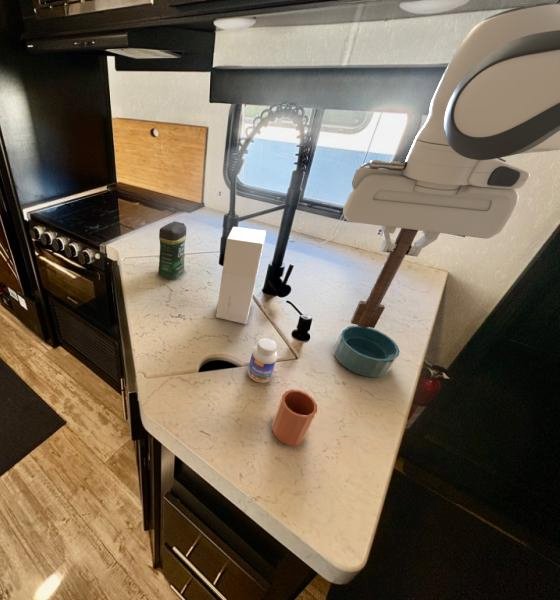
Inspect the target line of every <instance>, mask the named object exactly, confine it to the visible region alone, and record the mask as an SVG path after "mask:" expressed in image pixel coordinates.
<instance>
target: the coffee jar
mask: <svg viewBox="0 0 560 600" xmlns="http://www.w3.org/2000/svg"><path fill="white" fill-rule="evenodd" d="M186 239H187V226H186V225H185V223H183V222H180V221H175V220H174V221H172V222H169V223H167V224H165V225H164V226H161V227H160V228H159V233H158V240H159V257H158V259H159V260H158V275H159V277H161V278H163V279H166V280H176V279H178V278H179V277H180V276H182V274H183V273H185V248H186V247H185V245H186Z"/></svg>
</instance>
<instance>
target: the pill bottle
mask: <svg viewBox="0 0 560 600" xmlns="http://www.w3.org/2000/svg"><path fill="white" fill-rule="evenodd" d="M277 349H278V344H277V343H276V342H275V341H274V340H273V339H271V338H266V337H264V338H261V339H259V340H258V342H257V345H255V346H254V347H253V349H252V352H251V356H250V359H249V365H248V368H247V374H248V377H249V378H250V379H252V380H253V381H254V382H257V383H261V384H262V383H267V382H269V381H270V379H271V378H272V375H273V372H274V370H275V366H276V364H277V360H278V353H277Z"/></svg>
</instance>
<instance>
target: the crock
mask: <svg viewBox="0 0 560 600" xmlns="http://www.w3.org/2000/svg"><path fill="white" fill-rule="evenodd" d="M317 413H318V404H317V402H316V400H315V399H314V398H313V397H312V396H311V395H309V394H308V393H307V392H304V391H302V390H300V389H289V390H286V391H285V392H284V393H282V395H281V399H280V400H279V403H278V405H277V409H276V412H275V415H274V418H273V421H272V424H271V431H272V433H273V435H274V437H275V438H276V439H277V440H278V441H279V442H281V443H282V444H285V445H287V446H291V447H292V446H299V445H300V444H302V443H303V441H304V439H305V438H306V436H307V434H308V431H309V430H310V427H311V425H312V423H313V421H314V419H315V417H316V415H317Z"/></svg>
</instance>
